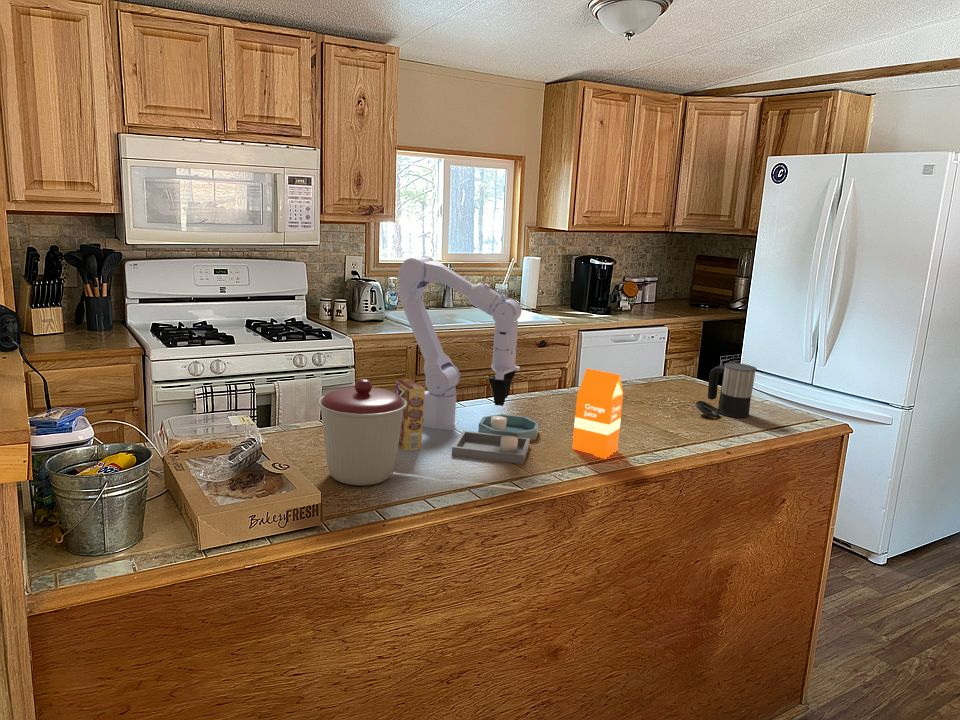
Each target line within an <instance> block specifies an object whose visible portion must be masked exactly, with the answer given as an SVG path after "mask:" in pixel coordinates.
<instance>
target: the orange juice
mask: <svg viewBox="0 0 960 720" xmlns="http://www.w3.org/2000/svg"><path fill="white" fill-rule="evenodd" d="M623 401H624V391H623V385H622V379H621V374H619V373H612V372H608V371H601V370H595V369H591V368H586V369H585V372H584V375H583V378H582V380H581V383H580V387H579V388H578V392H577V395H576V404H575V405H576V406H575V415H574V416H575V417H574V424H573V437H572V447H571V448H572V450H575V451H579V452H583V453H587V454H591V455H594V457H595V456H596V457H595V458H599V457H600V459H603V458H604V459H603V460H607V459H608V458H610V455H611V456H612V455H613V453H614V452H615V453H617V452H618V446H619V436H620V428H621V419H622V410H623ZM616 451H617V452H616ZM615 453H614V454H615ZM607 457H608V458H607Z"/></svg>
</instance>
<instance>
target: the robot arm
mask: <svg viewBox="0 0 960 720" xmlns="http://www.w3.org/2000/svg"><path fill="white" fill-rule="evenodd" d="M397 275H398V278H399V282H398V285H399V286H398V299H399V302H400V303H401V306H402V309H403V311H404V313H405V316H406V318H407V321H408V323H409V326H410V328H411V331H412V333H413V335H414V338H415V340H416V343H417V345H418V347H419V350H420V353H421V355H422V357H423V360H424V365H423V373H424V375H425V386H426V389H427V390H425V395H424V409H423V424H422V428H429V429H438V430H449V431H453V430H454V429H455V428H456V426H457V425H458V423H459V422H460V421H459V420H458V419H457V420H456V410H457V409H456V405H457V388H456V386H457V385H458V384H459V383H460V380H461V372H460V370H459V369H458V367H457V366H456V365H454V363H453V362H452V359H451V357H449V356H448V355H447V354H446V353H445V352H444V350H443V347H442V344H441V342H440V339H439V337H438V334H437V332H436V330H435V328H434V327H435V326H434V325H433V323H432V320H431V318H430V315H429V313H428V310H427V308H426V306H425V303H424V300H423V299H422V296H423V293H424V292H425V290H426V287H427V285H428V284H429V283H431V282H440V283H442V284H444V285H445V286H447V287H449V288H451V289H453V290H455V291H458V292H459V293H461V294H462V295H464V296H466V297H467V300H468V303H469V304H470V305H472V306H473V307H475V308H477V309H479V310H480V311H482V312H483V313H485V314H487V315H488V316H492V319H493V320H494V323H495V324H494V333H493V345H492V346H493V348H492V359H491V360H492V363H491V367H490V368H491V370H492V371H493V372H494V374H495V376H492V375H489V377H488V381H489V384H490V387H491V389H492V394H493V401H494V402H493V403H494V406H500V407H503V406H504V404H505V403H506V402H505V401H506V399H507V398H508V396H509V393H510V390H511V389H510V388H511V386H512V382H513V380H514V377H515V375H516V373H517V371H519V370H520V369H521V367H520V366H518V365H516V358H517V342H518V332H519V331H518V327H519V325H518V324H519V321H518V319H520V317H521V315H522V307H521V304H520V303H519V302H518V301H517V300H516V299H515V298H507V295H506V294H503V293H502V294H501V293H499V292H497V291H495V290H493V289H492V288H490V287H491V285H490V284H488V283H484V284H483V283H482V282H480V283H477V284H473V283H472V282H470V281H469V280H468V279H466V278H464V277H463V276H461V274H459V273H457V272H455V271H454V270H453V269H451V268H450V267H447V266H446V265H444V264H443V263H442V262H441V261H438V260H434V259H433V258H432V257H430V256H427V255H425V256H420V257H415V258H412V257H411V258H407V259H406V260H404V261H403V262H402V264H401V265H400V268H399V269H398V271H397Z"/></svg>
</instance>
